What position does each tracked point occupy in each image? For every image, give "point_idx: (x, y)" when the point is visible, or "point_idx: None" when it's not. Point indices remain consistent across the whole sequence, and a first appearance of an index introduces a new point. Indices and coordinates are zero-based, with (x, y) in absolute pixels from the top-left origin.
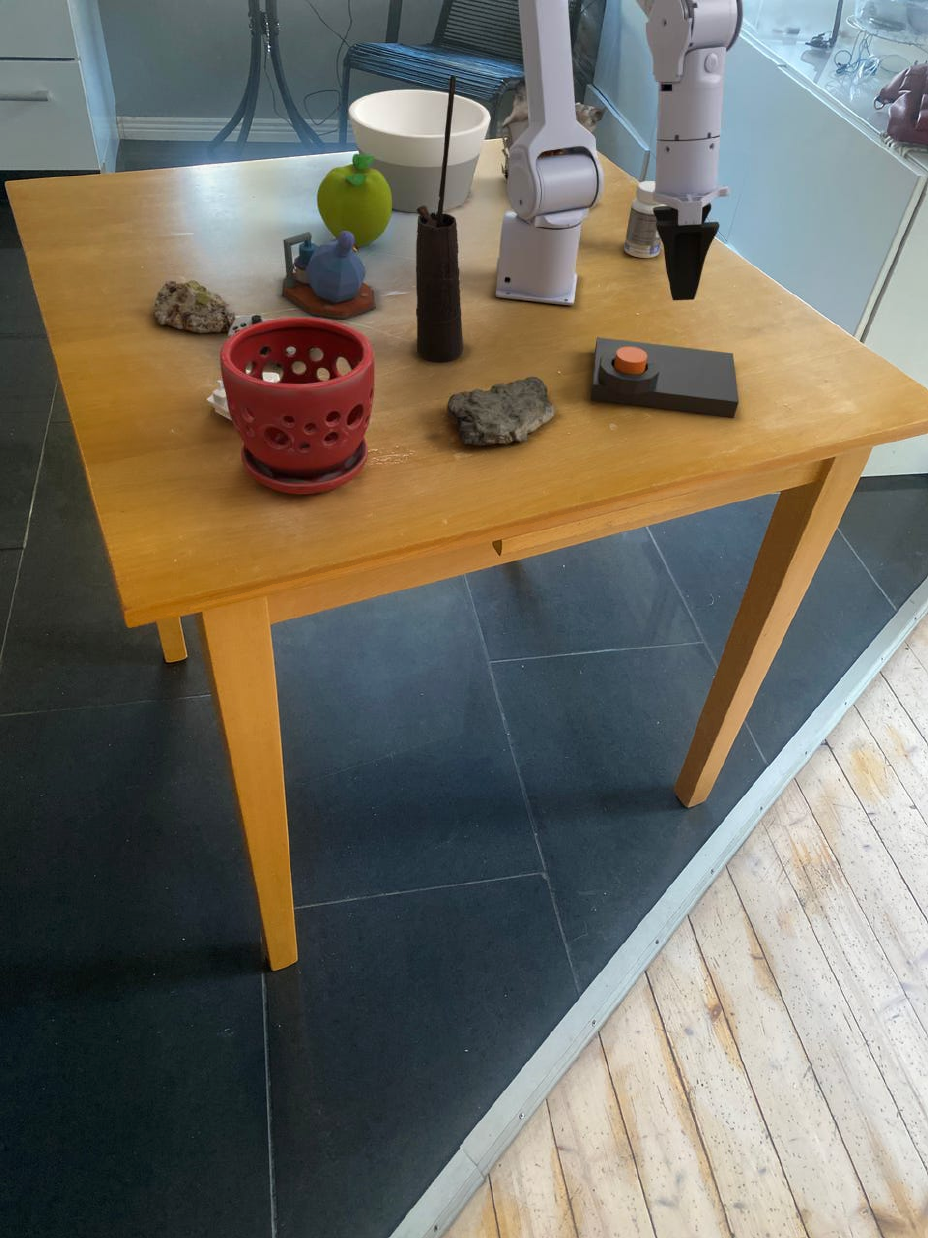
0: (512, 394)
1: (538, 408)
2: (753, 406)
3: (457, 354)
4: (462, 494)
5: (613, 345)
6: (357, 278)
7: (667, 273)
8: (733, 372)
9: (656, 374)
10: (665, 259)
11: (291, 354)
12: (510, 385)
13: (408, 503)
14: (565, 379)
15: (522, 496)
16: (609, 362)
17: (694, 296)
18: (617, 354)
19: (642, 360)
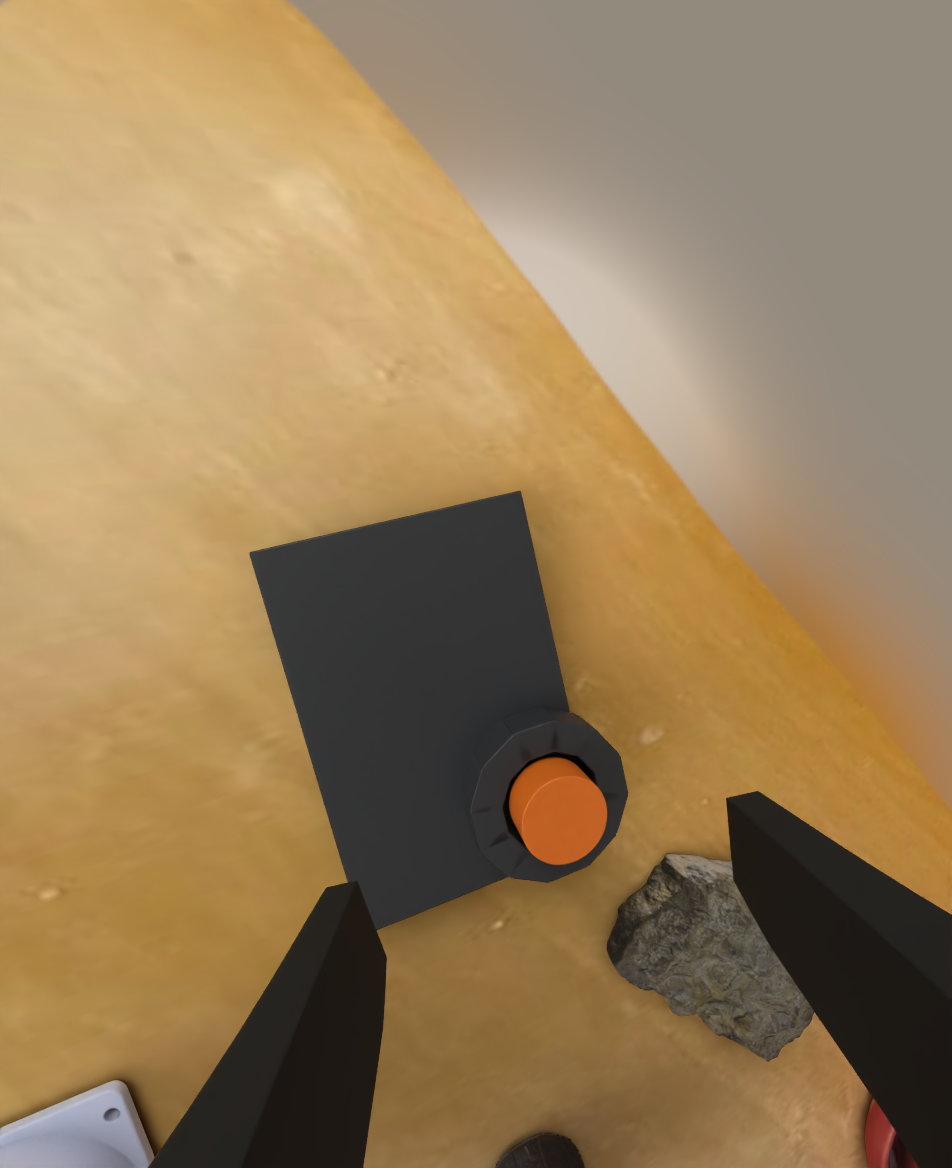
0: (738, 967)
1: (735, 895)
2: (431, 456)
3: (553, 1144)
4: (908, 872)
5: (389, 877)
6: None
7: (381, 1010)
8: (372, 530)
9: (569, 722)
10: (366, 1124)
11: None
12: (673, 987)
13: None
14: (520, 898)
15: (885, 790)
16: None
17: (771, 800)
18: (583, 854)
19: (584, 782)
